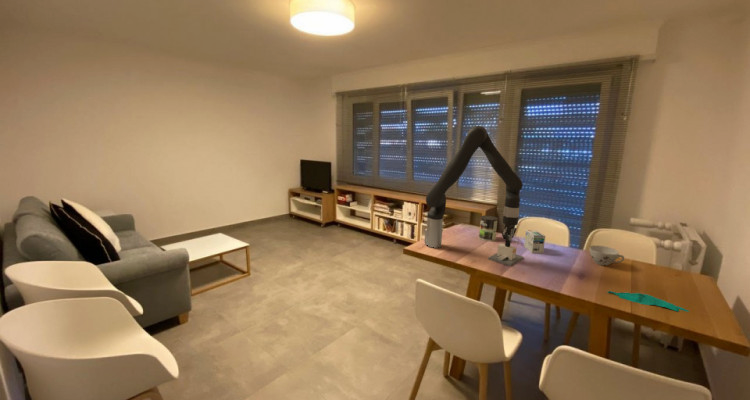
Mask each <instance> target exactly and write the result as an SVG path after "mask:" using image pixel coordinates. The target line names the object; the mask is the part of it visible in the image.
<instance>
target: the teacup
mask: <svg viewBox="0 0 750 400" xmlns="http://www.w3.org/2000/svg"><path fill="white" fill-rule="evenodd" d="M589 254H590V257H591V259H592V260H593V261H594V263H595V264H597V265H599V266H604V265H606V266H605V267H607V266H609V265H610V264H613V263H615V264H618V263H619V264H620V263H622V262H624V261H625V256H624V254H619V251H618V250H616V248H612V247H609V246H604V245H590V246H589ZM618 258H622V259H621V260H617V259H618Z"/></svg>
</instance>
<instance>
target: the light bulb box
mask: <svg viewBox="0 0 750 400" xmlns="http://www.w3.org/2000/svg"><path fill="white" fill-rule="evenodd" d="M545 242H546V235H545V234H543V233H541V232H540V231H538V230H536V229H535V230H533V229H526V230H525V237H524V242H523V243H524V245H523V247H524V248H525V249H526V250H527V251H529V252H530V253H531V254H544V250H545Z"/></svg>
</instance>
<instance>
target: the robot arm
mask: <svg viewBox="0 0 750 400" xmlns="http://www.w3.org/2000/svg"><path fill="white" fill-rule="evenodd" d="M479 148H480V150H482V152H483V153H484V155H485V156H486V158H487V161H488V162H489V165H490V166H491V168H492V169H493V170H494V172H496V174H497V176H498V177H500V178H501V180H502V181H503V183H504V185H505V200H504V206H503V207H504V208H503V215H502V221H501V222H502V224H504V227H503V230H502V231H501V236H502V238H503V240H504V244H505V246H506V247H510V246H511V243H512V239H514V237H515V233H516V232H517V227H516V226H518V223H519V217H520V204H521V203H520V202H521V198H520V191H521V190H522V189H523V185H524V184H523V181H522V179H521V178H520V177H519V176H518V175H517V174H516V173H515V171H513V169H512V167H511V166H510V164H509V163H508V162H507V160H506V159H505V158H504V157H503V156H502V154H501V153H500V152H499V150H498V149H497V147H496V146H495V145H494V143H493V141H492V139H491V137H490V136H489V133H488V132H487V130H486V128H485V127H484V126H482V125H475V126H473V127H472V128H471V129H469V130H468V132H467V134H466V136H465V138H464V141H463V142H462V144H461V146H460V147H459V149H458V150H457V152H456V153H455V154H454V155H453V156H452V158H451V159H450V161H449V162H448V163H447V166H446V167H445V169H444V170H443V172H442V173H441V174H440V176H439V178H438V179H437V182H436V183H435V184H434V186H433V187H432V189H430V191H429V192H427V195H426V198H425V204H426V206H428V207H429V208H430V209H429V210H428V212H427V218H426V228H425V230H424V243H425V244H426V245H428V246H430V247H429V248H431V247H434V248H433V249H437V248H438V247H439V248H441V247H442V243H443V242H442V239H443V227H444V225H443V224H444V215H445V213H446V204H447V196H446V194H445V193H446V192H447V191H448V190H449V189H450V188H451V187H452V186H453V185H454V184H455V183H457V182H458V180H459V179H460V178H461V177H462V175H463V174H464V172H465V171H466V168H467V167H468V165H469V163H470V160H471V159H472V157H473V155H474V154H475V153H476V151H477V150H478V149H479ZM425 244H424V245H425ZM426 245H425V246H426ZM428 246H427V247H428ZM439 248H438V249H439Z"/></svg>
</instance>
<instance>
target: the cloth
mask: <svg viewBox="0 0 750 400" xmlns="http://www.w3.org/2000/svg"><path fill="white" fill-rule="evenodd" d="M606 294H614V295H615V296H618V298H619V299H623V300H627V301H629V302H632V303H638V304H640V305H645V306H658V307H662V308H664V307H665V308H664V309H667V308H668V310H672V311H675V312H677V313H679V312H680V311H682V310H683V311H684V312H688V313H690V311H689V310H688V309H685V308H683V307H681V306H678V305H675V304H674V303H671V302H667V301H666V300H663V299H661V298H657V297H654V296H653V295H650V294H646V293H640V292H635V293H634V292H633V293H631V292H614V291H611V290H609V291H606ZM679 309H680V311H679ZM678 311H679V312H678Z"/></svg>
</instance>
